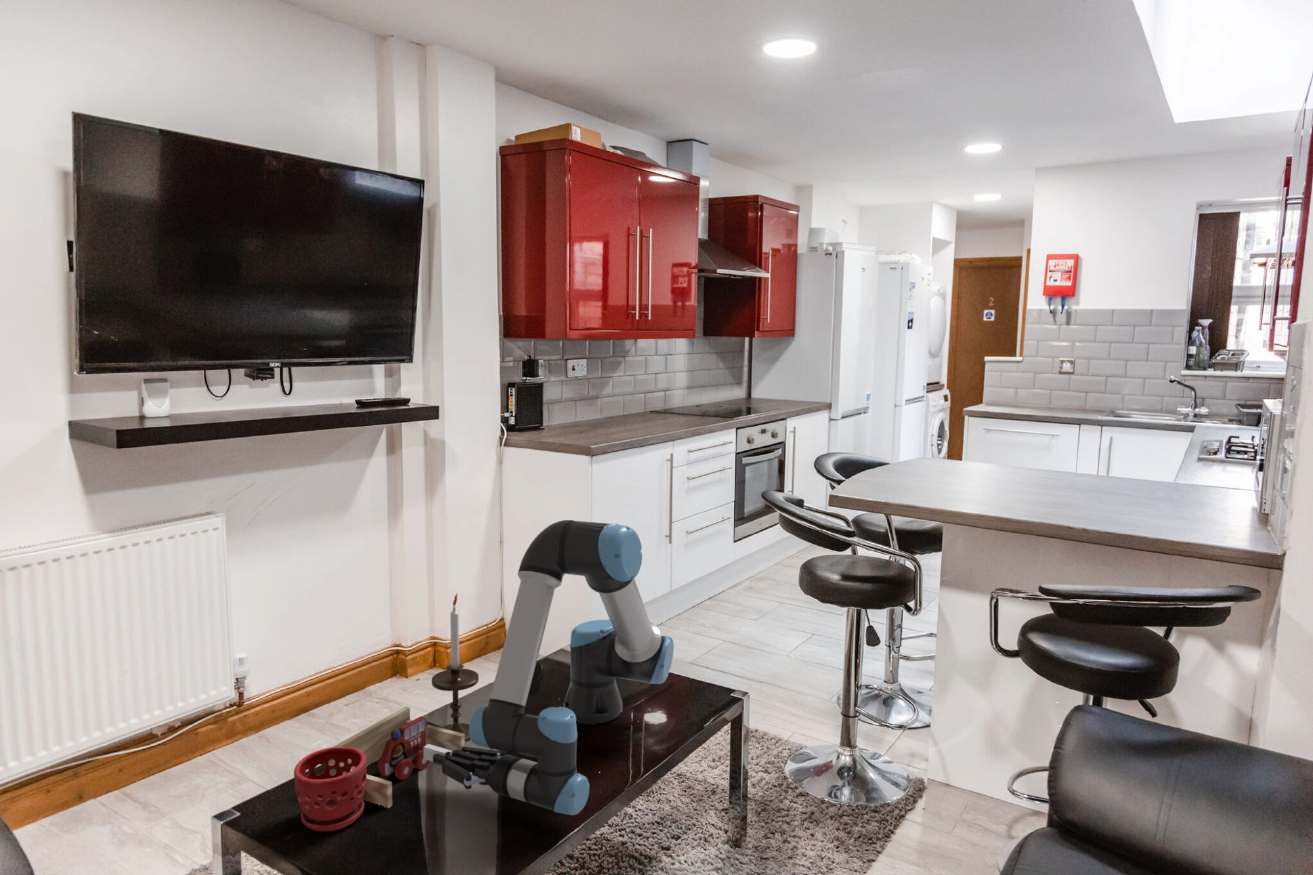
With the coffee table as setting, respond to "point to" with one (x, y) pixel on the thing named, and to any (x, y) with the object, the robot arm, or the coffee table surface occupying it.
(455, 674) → the candlestick
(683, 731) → the coffee table surface
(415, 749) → the toy fire truck
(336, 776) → the plant pot
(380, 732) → the box
